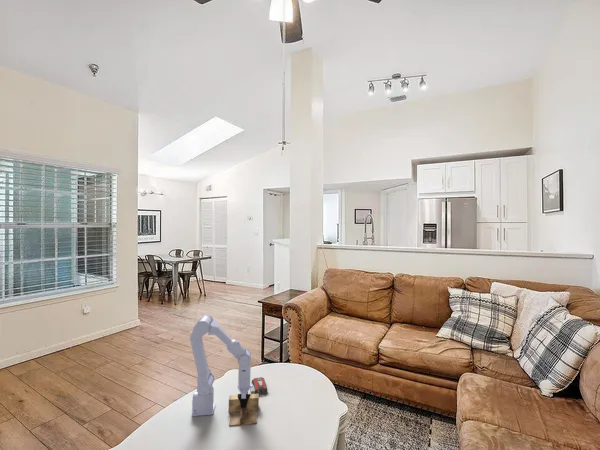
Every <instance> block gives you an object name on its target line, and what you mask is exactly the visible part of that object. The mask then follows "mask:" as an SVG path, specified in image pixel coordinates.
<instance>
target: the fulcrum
mask: <svg viewBox="0 0 600 450" xmlns="http://www.w3.org/2000/svg"><path fill="white" fill-rule="evenodd" d="M229 414H230V416H229V422H228V426H229V427H235V426H236V427H238V426H247V425H249V426H250V425H256V424H258V423H257V418H258V417H257V410H251V411H246V407H245V408H241V411H239V412H229Z"/></svg>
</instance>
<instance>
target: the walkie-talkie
mask: <svg viewBox="0 0 600 450" xmlns="http://www.w3.org/2000/svg"><path fill="white" fill-rule="evenodd" d="M251 384H253V387H252V388H250V389H249V391H250V394H259V395H265V394H267V393H268V386H267V383H266V380H265V378H264V377H263V376H260V377H254V378H253V379H251Z"/></svg>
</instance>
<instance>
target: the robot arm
mask: <svg viewBox="0 0 600 450" xmlns="http://www.w3.org/2000/svg"><path fill="white" fill-rule="evenodd" d="M206 334H207V335H208V336H211V335H214V336H215V337H217V338H218V339H219V340H220V341H221V342H223V344H225V345H226V350H227V351H228V352H229V353H230V354H231V355H232V356H233V357H234V358H235V359H236V360H237V363H238V376H237V377H238V378H237V381H238V382H237V383H238V384H237V389H238V391H239V392H240V393H237V395H238V399H239V401H240V405H241V408H245V407H246V406H247V402H248V399H249V397H250V394H251V393H249V391H250V388H252V387H253V384H252V383H251V369H252V367H251V361H252V359H251V358H252V352H251V351H250V349H249V348H246V347H243V345H242V344H241V341H239V340H237V339H232V338H231V337H230V336H229V335H228V333H226V331H225V330H224V329H223V327H221V326H220V324H219V323H218V322H217V320H215V319H213V317H212V316H211V315H209V314H204V315H203V316H201V317H200V318H199V320H198V321H197V322H196V324H195V325H194V326H193V328H192V331H191V334H190V336H189V341H190V345H191V349H192V355H193V358H194V363H195V368H196V372H197V379H196V380H197V381H196V382H197V383H196V384H197V387H196V391H194V392H193V395H192V400H191V402H192V404H191V405H192V406H191V407H192V408H191V416H192V417H198V416H211V415H213V414H214V412H215V406H216V403H215V402H214V396H215V395H214V394H215V393H214V392H215V390H214V387H213V384H214V383H215V375H214V374H213V373H212V370H211V369H210V368H209V363H208V359H207V355H206V351H205V346H204V343H203V337H204V336H205V335H206Z"/></svg>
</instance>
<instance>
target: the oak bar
mask: <svg viewBox="0 0 600 450" xmlns="http://www.w3.org/2000/svg"><path fill="white" fill-rule="evenodd" d="M249 394H250V397H249V399H248V402H247V406H246V412H251V411H259V409H260V408H259V403H260V402H259V400H260V399H259V398H260V397H259V396H260V394H251V393H249ZM228 412H229V413H236V412H241V405H240V401H239V399H238V394H229V396H228Z"/></svg>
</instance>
